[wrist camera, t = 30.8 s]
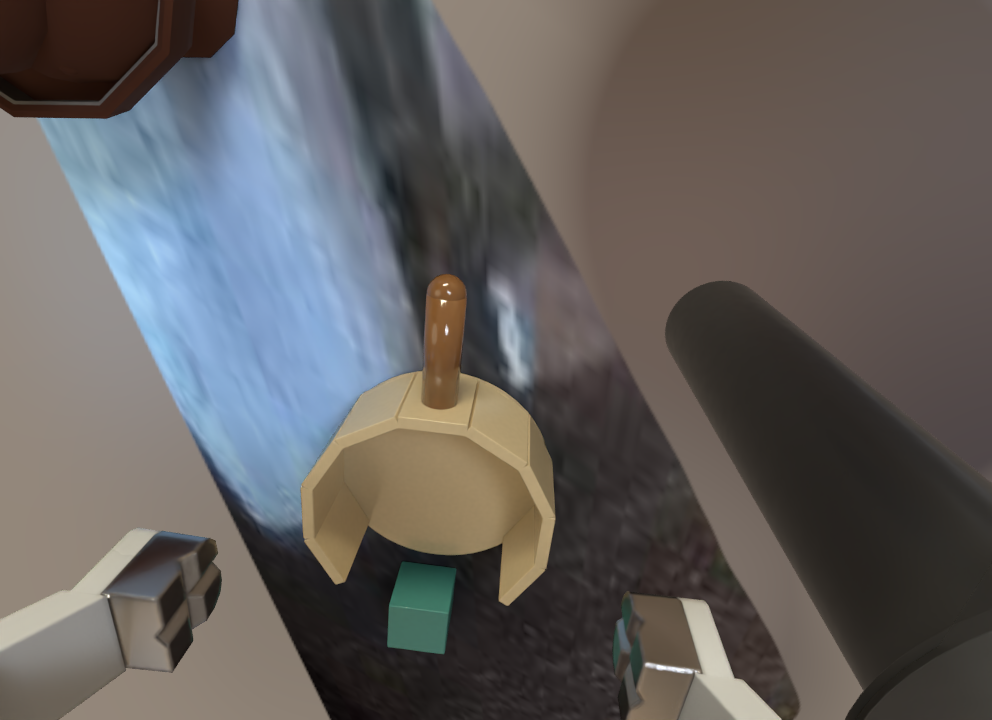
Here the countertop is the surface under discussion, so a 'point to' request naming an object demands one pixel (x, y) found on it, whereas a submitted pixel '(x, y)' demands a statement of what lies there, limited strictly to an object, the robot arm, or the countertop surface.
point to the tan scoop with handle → (435, 464)
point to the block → (421, 607)
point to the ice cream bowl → (100, 51)
